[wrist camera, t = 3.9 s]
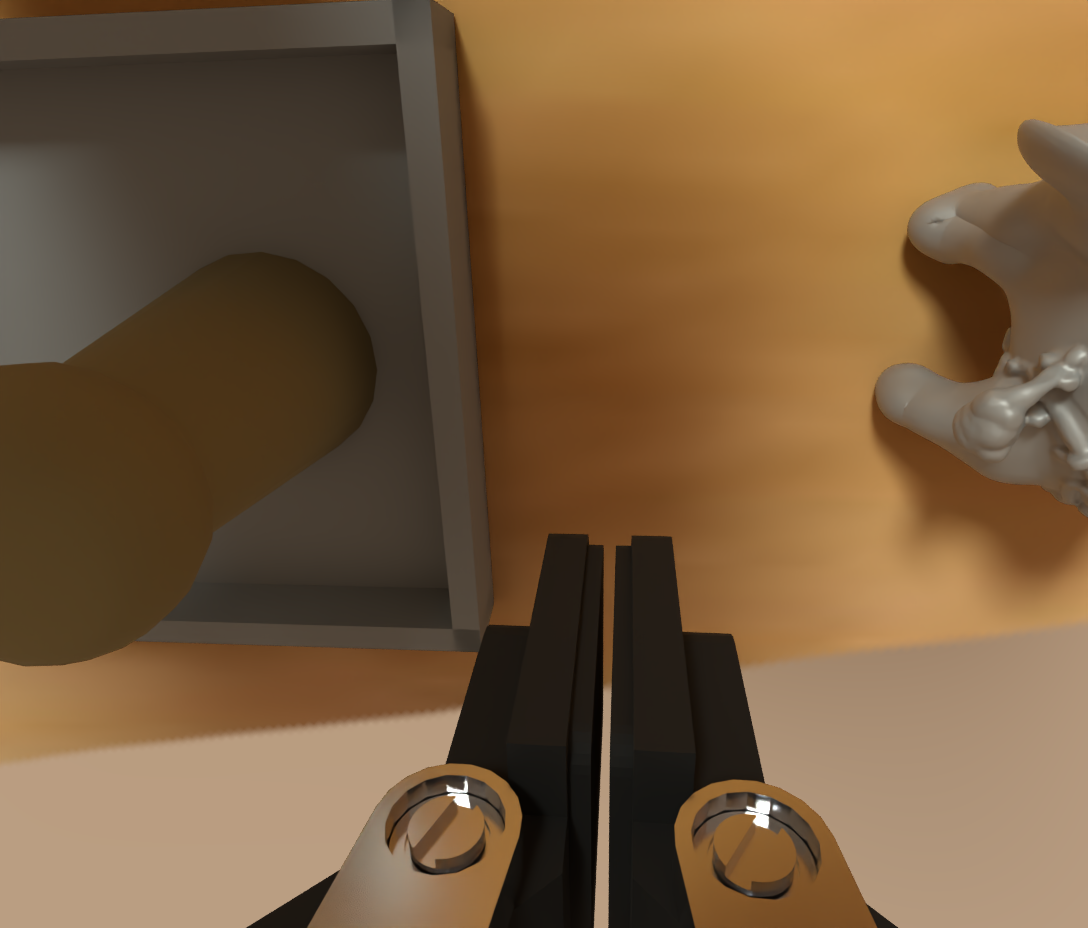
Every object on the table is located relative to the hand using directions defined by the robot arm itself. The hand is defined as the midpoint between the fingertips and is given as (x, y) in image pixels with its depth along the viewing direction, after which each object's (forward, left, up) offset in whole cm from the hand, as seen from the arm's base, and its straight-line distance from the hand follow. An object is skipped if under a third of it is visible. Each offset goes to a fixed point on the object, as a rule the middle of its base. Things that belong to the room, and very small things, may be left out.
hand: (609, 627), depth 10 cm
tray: (+7, -14, -12) cm, 19 cm away
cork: (+4, -9, -11) cm, 15 cm away
